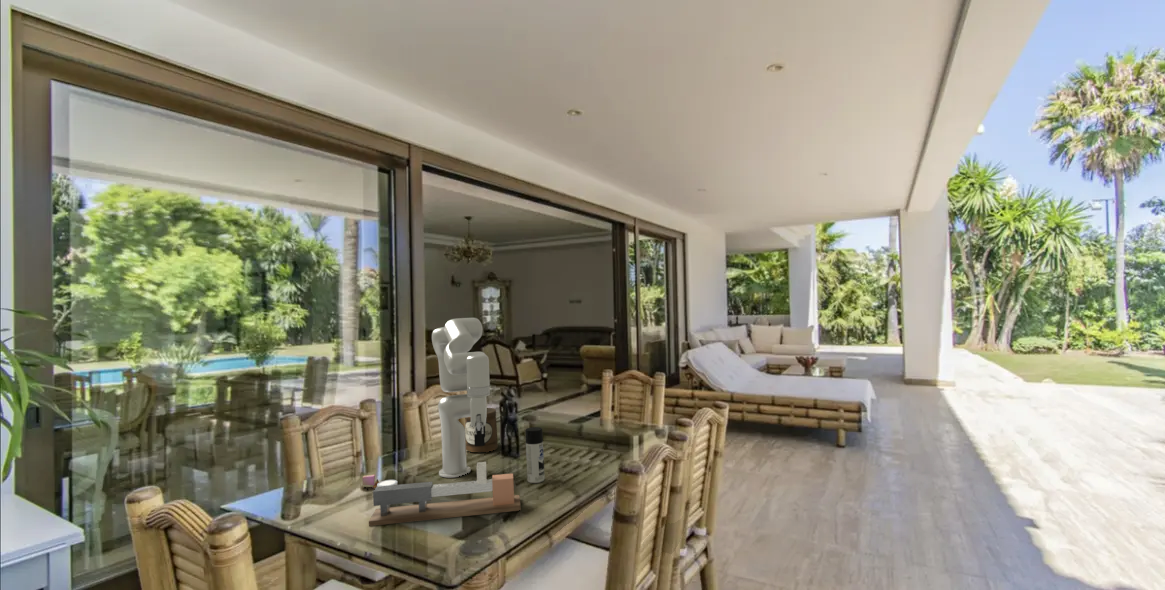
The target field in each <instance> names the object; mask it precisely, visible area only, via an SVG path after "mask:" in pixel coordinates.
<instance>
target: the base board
mask: <svg viewBox="0 0 1165 590" xmlns="http://www.w3.org/2000/svg"><path fill="white" fill-rule="evenodd" d="M521 508H522V507H521V498H520V494H514V504H505V505H495V506H493V496H492V497H482V498H481V497H480V498H471V499H463V500H451V501H440V502H431V503H427V509H426V512H420V513H419V504H412V505H402V506H401V505H400V506H392V507H391V506H390V511H389V513H388V515H387V516H381V511H380V508H375V510H374V512H373V514H372V515H371V517H370V518H369V520H368V527H373V526H381V525H392V524H402V523H412V522H420V521H421V522H422V521H432V520H441V519H450V518H460V517H470V516H479V515H488V514H498V513H499V514H500V513H507V512H518V511H519V510H520V511H521V510H522V509H521ZM520 511H519V512H520Z"/></svg>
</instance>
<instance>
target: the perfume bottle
mask: <svg viewBox="0 0 1165 590" xmlns="http://www.w3.org/2000/svg"><path fill="white" fill-rule="evenodd" d="M361 481H362V486H363V485H373V487H372V489H373V490H374V489H375V488H376V487H377V484H378V483H379V482H380V481H379V479H376V474H365V475H364V474H363V475H362V479H361Z"/></svg>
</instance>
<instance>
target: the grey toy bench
mask: <svg viewBox="0 0 1165 590" xmlns="http://www.w3.org/2000/svg"><path fill="white" fill-rule="evenodd" d="M432 485H433V481H424V482H413V483H412V482H411V483H401V484H397V485H390V486H379V487H376V488H375V490H374V489H373V491H372V500H373V501H372V502H373V503H372V505H373V507H376V506H377V507H378V506H379V507H380V511H381V516H387V515H388V513H389V511H390V507H391V505H389V504H392V505H398V504H399V505H400V504H408V503H409V504H411V503H418V505H419V513H420V512H426V509H427V504H428V502H429V501H432V498H433V497H431V486H432Z"/></svg>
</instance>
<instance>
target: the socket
mask: <svg viewBox="0 0 1165 590" xmlns="http://www.w3.org/2000/svg"><path fill="white" fill-rule="evenodd" d="M491 479H492V487H493V491H492V497H493V506H495V505H505V504H514V495H515V490H514V489H515V488H514V487H515V486H514V473H513V472H512V473H504V474H503V473H502V474H492V478H491Z"/></svg>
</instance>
